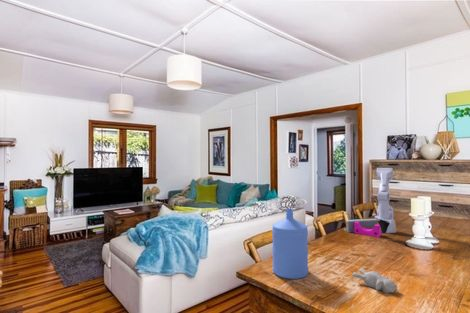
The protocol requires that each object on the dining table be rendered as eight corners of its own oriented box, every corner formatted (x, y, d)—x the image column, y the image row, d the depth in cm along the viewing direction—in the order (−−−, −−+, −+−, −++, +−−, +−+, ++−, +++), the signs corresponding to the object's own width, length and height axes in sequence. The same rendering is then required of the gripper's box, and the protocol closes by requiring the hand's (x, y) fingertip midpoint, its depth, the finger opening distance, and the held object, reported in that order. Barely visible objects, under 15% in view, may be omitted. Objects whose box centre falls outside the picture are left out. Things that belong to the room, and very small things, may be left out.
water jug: (301, 283, 109) (301, 214, 110) (266, 274, 118) (266, 210, 118) (312, 269, 123) (312, 208, 123) (280, 262, 131) (280, 205, 131)
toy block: (381, 235, 177) (381, 224, 177) (379, 237, 172) (379, 226, 172) (357, 231, 186) (357, 220, 186) (354, 233, 181) (354, 222, 181)
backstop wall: (371, 228, 193) (371, 217, 193) (377, 230, 187) (377, 219, 187) (343, 230, 190) (343, 219, 190) (348, 232, 184) (348, 221, 184)
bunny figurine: (390, 287, 98) (351, 268, 109) (388, 300, 98) (349, 280, 110) (400, 279, 103) (362, 263, 115) (399, 292, 104) (361, 274, 116)
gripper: (370, 209, 175) (370, 230, 175) (386, 213, 160) (386, 236, 160) (380, 208, 176) (380, 229, 176) (396, 213, 162) (397, 235, 161)
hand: (384, 232), depth 168 cm, fingers closed
